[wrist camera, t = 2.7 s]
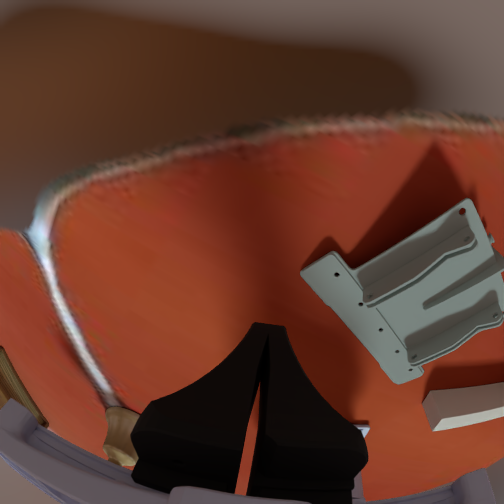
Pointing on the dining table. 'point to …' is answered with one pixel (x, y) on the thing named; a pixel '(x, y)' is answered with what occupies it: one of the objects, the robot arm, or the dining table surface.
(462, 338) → the metal bracket
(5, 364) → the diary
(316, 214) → the dining table surface
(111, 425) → the hand bell
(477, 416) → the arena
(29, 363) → the dining table surface
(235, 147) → the dining table surface
